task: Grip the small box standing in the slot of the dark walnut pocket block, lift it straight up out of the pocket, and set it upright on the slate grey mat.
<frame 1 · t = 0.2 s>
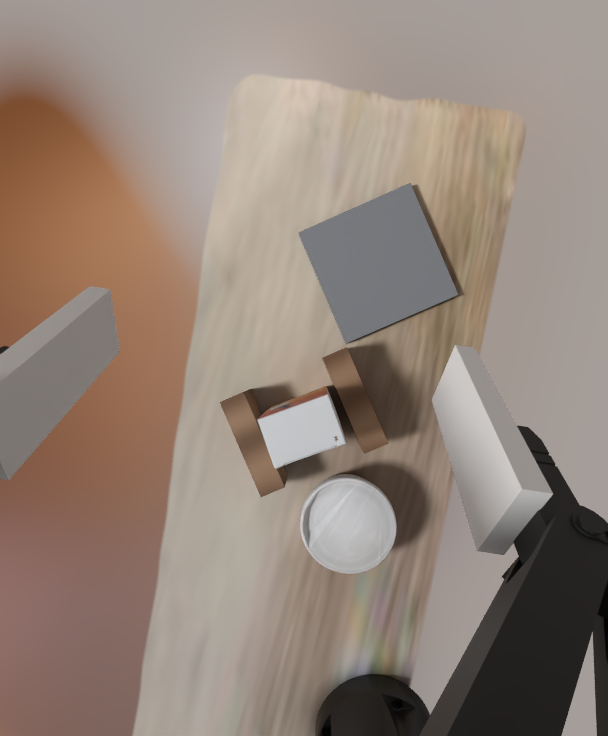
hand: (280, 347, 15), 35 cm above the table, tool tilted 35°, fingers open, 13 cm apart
walnut pocket block: (304, 416, 50), on the table
small box: (304, 416, 50), on the table
ramekin: (344, 508, 51), on the table
slate grey mat: (376, 265, 49), on the table
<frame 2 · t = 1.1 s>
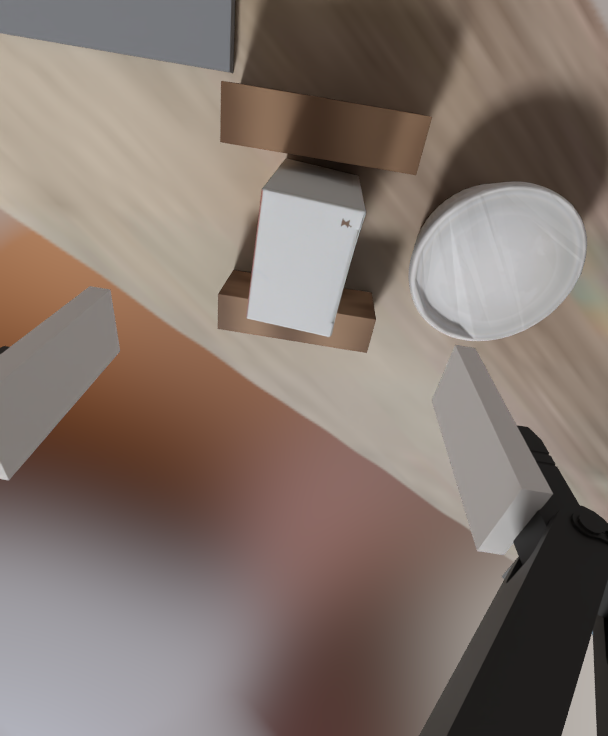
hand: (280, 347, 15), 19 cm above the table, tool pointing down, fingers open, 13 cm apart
walnut pocket block: (311, 221, 31), on the table
small box: (311, 220, 31), on the table
ramekin: (473, 247, 31), on the table
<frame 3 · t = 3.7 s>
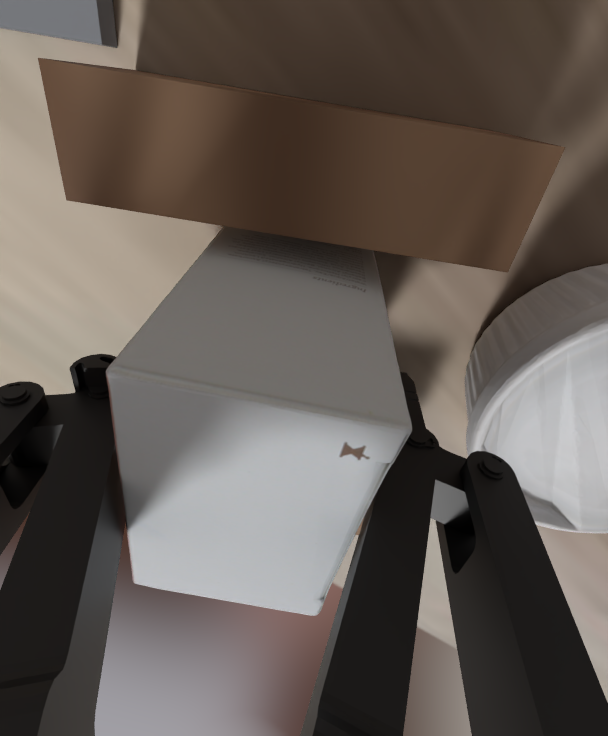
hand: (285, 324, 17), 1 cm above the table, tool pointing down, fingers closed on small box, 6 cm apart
walnut pocket block: (288, 315, 17), on the table
small box: (288, 312, 18), on the table, touching gripper
ramekin: (568, 356, 18), on the table
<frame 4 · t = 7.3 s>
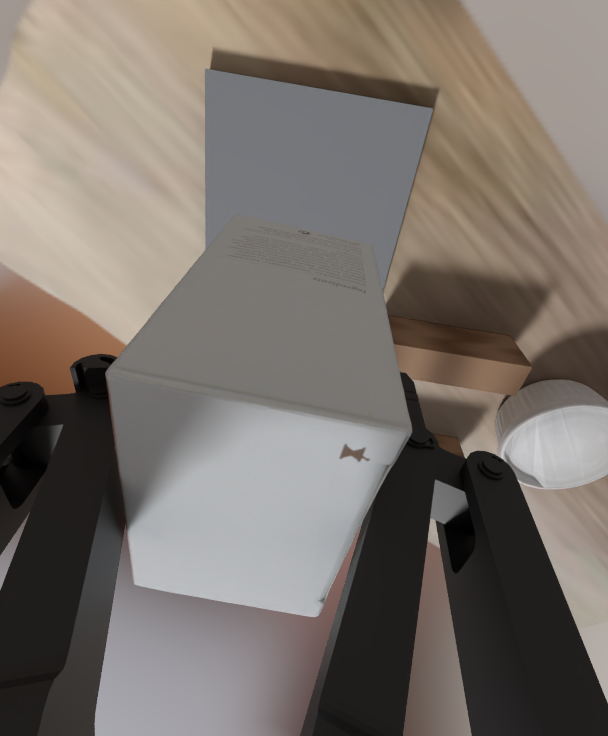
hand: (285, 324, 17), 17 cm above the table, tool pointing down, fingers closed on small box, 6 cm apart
walnut pocket block: (418, 393, 40), on the table
small box: (288, 313, 18), point 16 cm above the table, touching gripper
ramekin: (541, 411, 40), on the table
slate grey mat: (304, 206, 30), on the table
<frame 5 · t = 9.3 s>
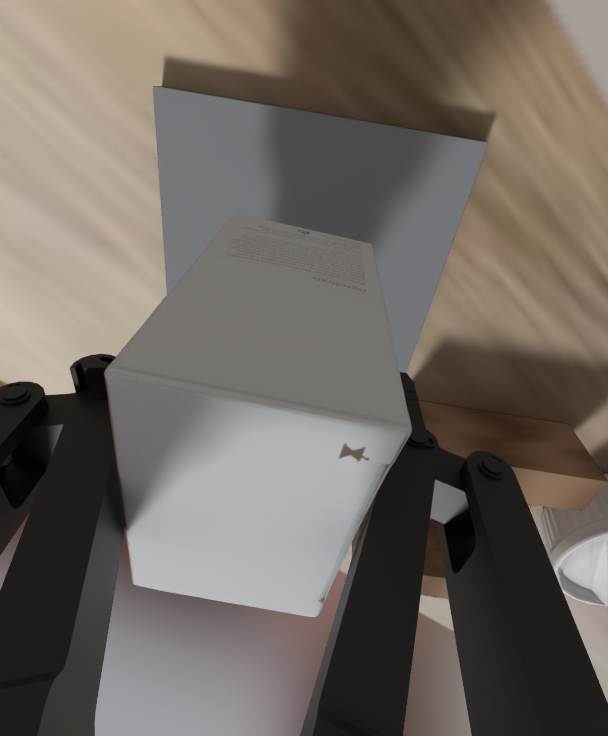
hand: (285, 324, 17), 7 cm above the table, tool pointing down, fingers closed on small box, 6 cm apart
walnut pocket block: (444, 484, 32), on the table
small box: (288, 313, 18), point 6 cm above the table, touching gripper
ramekin: (598, 505, 32), on the table
slate grey mat: (300, 268, 22), on the table
when the fingers open (3 cm above the table, at t = 10.8 s): small box drops 1 cm, resting on slate grey mat.
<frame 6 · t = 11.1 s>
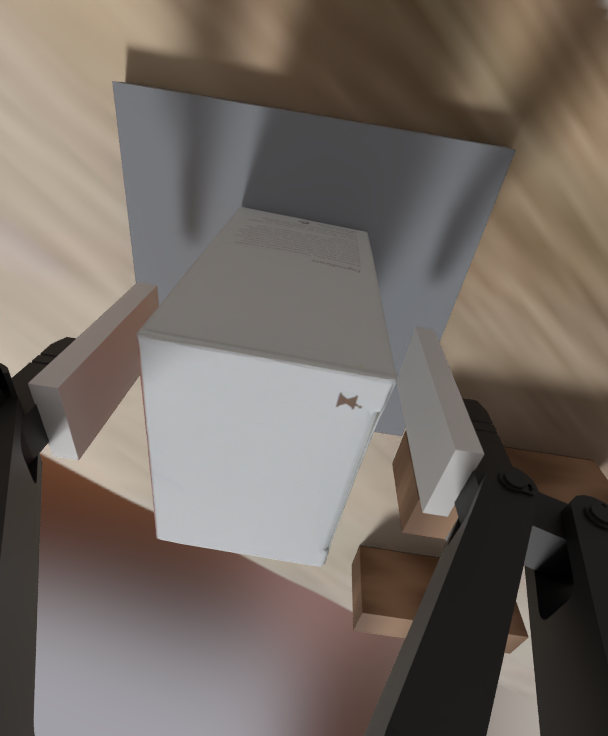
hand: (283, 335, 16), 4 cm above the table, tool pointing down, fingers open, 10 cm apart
walnut pocket block: (454, 521, 29), on the table
small box: (291, 300, 19), point 1 cm above the table, touching slate grey mat
slate grey mat: (293, 292, 19), on the table
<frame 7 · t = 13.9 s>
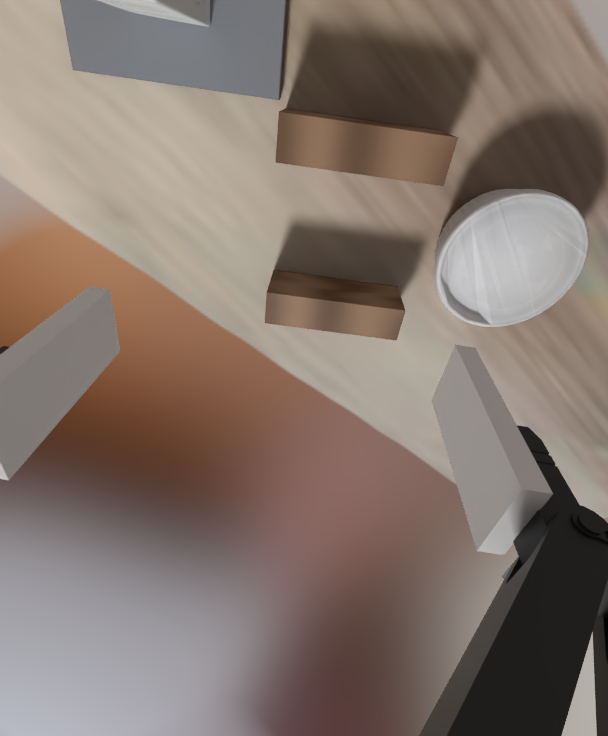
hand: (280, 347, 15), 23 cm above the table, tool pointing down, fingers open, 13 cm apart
walnut pocket block: (345, 225, 35), on the table
ramekin: (487, 244, 35), on the table
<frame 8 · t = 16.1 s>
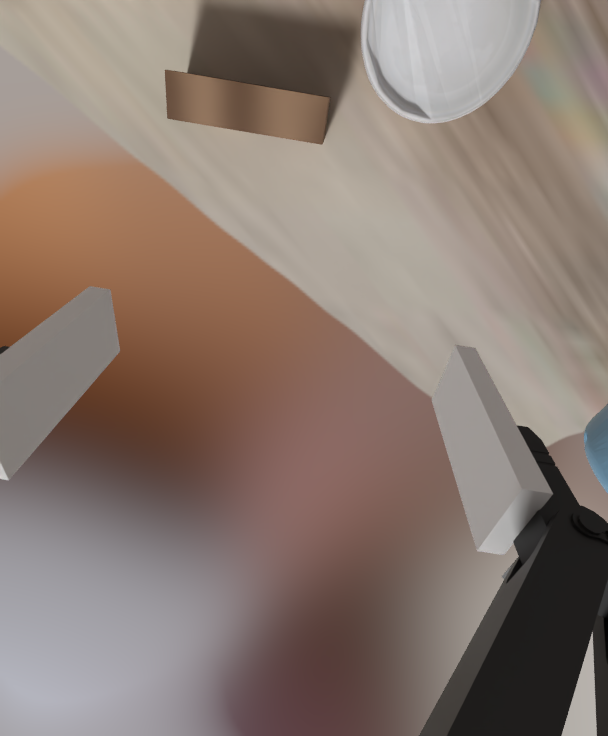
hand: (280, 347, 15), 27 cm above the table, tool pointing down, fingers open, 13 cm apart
walnut pocket block: (263, 4, 29), on the table
ramekin: (432, 34, 30), on the table
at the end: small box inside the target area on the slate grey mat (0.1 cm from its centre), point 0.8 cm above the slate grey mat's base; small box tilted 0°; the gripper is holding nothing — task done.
